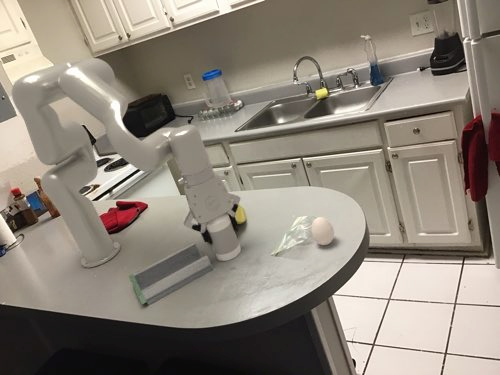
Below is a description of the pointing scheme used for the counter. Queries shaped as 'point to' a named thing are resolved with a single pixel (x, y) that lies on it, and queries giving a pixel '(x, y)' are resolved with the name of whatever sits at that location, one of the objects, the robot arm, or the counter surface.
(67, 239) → the counter surface
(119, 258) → the counter surface
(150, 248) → the counter surface
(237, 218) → the plastic component
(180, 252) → the rail cradle
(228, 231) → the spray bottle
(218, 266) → the counter surface
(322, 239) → the egg
